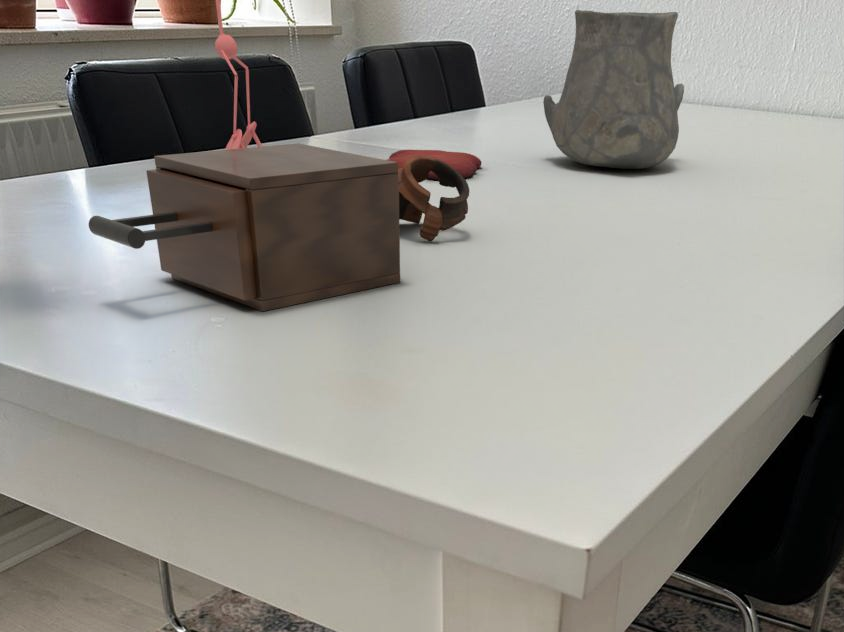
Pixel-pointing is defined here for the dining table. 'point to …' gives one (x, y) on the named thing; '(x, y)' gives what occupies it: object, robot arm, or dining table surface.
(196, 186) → the drawer
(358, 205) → the cabinet
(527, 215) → the dining table surface
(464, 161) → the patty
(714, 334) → the dining table surface
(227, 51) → the figurine
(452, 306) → the dining table surface
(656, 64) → the vessel
